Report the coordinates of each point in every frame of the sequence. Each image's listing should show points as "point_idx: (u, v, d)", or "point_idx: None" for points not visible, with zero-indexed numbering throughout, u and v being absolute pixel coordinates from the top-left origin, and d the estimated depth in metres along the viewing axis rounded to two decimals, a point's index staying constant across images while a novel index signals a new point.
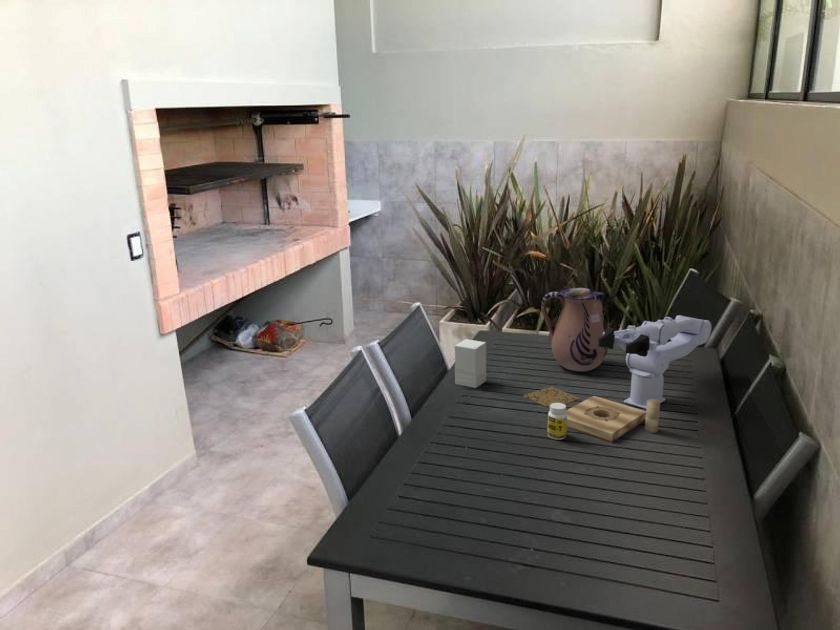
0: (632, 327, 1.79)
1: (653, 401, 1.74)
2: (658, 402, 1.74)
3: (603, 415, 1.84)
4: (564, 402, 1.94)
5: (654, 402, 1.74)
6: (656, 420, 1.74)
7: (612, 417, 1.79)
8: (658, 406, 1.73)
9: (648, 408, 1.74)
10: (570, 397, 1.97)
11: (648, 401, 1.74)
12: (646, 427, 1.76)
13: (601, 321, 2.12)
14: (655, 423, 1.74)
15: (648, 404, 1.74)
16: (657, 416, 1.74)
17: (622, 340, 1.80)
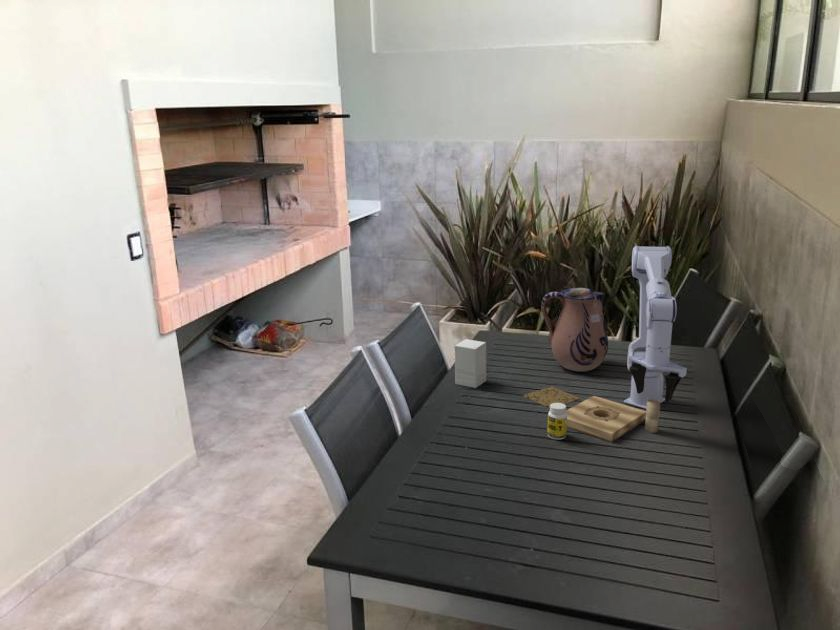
0: None
1: (653, 401, 1.74)
2: (658, 402, 1.74)
3: (603, 415, 1.84)
4: (564, 402, 1.94)
5: (654, 402, 1.74)
6: (656, 420, 1.74)
7: (612, 417, 1.79)
8: (658, 406, 1.73)
9: (648, 408, 1.74)
10: (570, 397, 1.97)
11: (648, 401, 1.74)
12: (646, 427, 1.76)
13: (601, 321, 2.12)
14: (655, 423, 1.74)
15: (648, 404, 1.74)
16: (657, 416, 1.74)
17: None
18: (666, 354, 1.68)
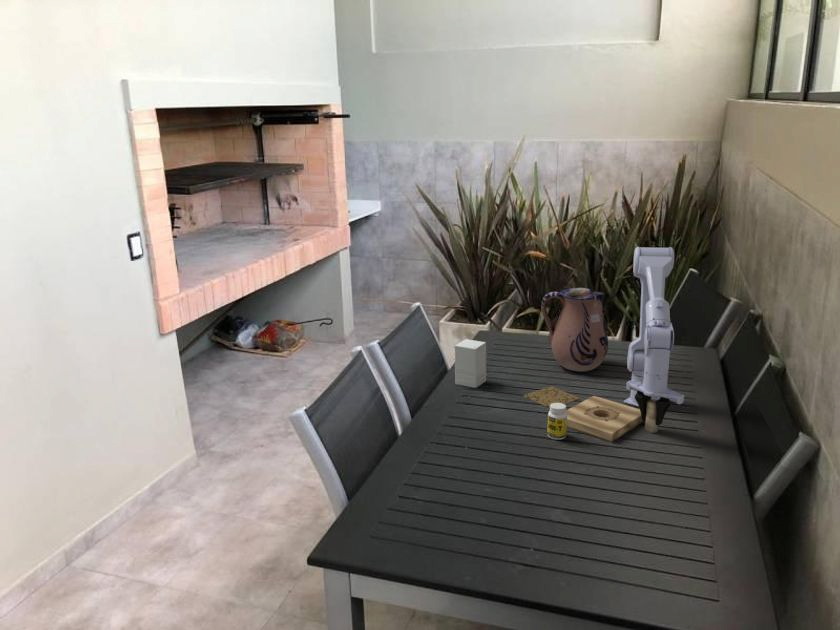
0: None
1: (653, 401, 1.74)
2: None
3: (603, 415, 1.84)
4: (564, 402, 1.94)
5: (654, 402, 1.74)
6: None
7: (612, 417, 1.79)
8: None
9: (648, 408, 1.74)
10: (570, 397, 1.97)
11: (648, 401, 1.74)
12: (646, 427, 1.76)
13: (601, 321, 2.12)
14: (655, 423, 1.74)
15: (648, 404, 1.74)
16: None
17: None
18: (664, 381, 1.70)
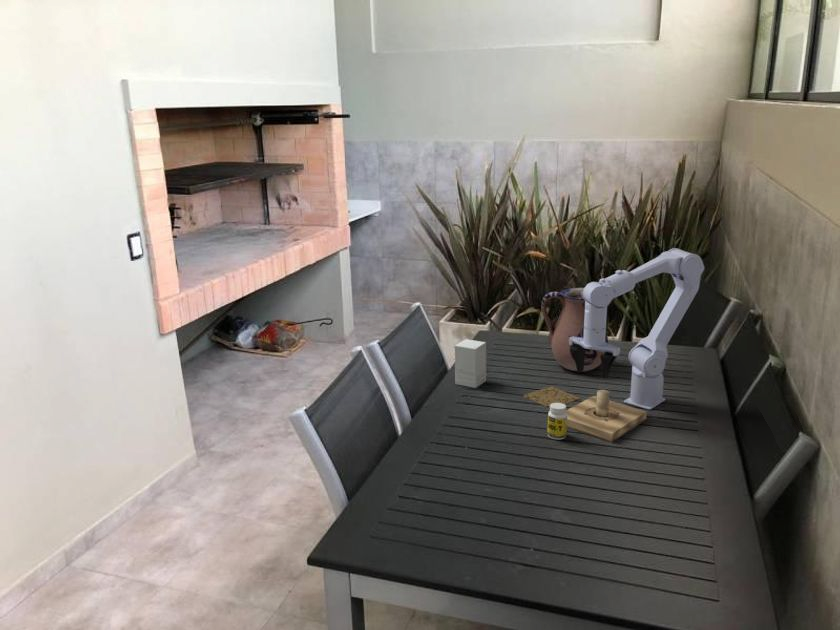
0: None
1: (603, 391, 1.80)
2: (607, 392, 1.79)
3: None
4: (564, 402, 1.94)
5: (604, 392, 1.79)
6: (605, 410, 1.79)
7: (612, 417, 1.79)
8: (607, 396, 1.78)
9: (598, 398, 1.79)
10: (570, 397, 1.97)
11: (598, 391, 1.80)
12: None
13: None
14: (604, 413, 1.79)
15: (598, 394, 1.79)
16: (606, 406, 1.79)
17: None
18: (602, 334, 1.82)
